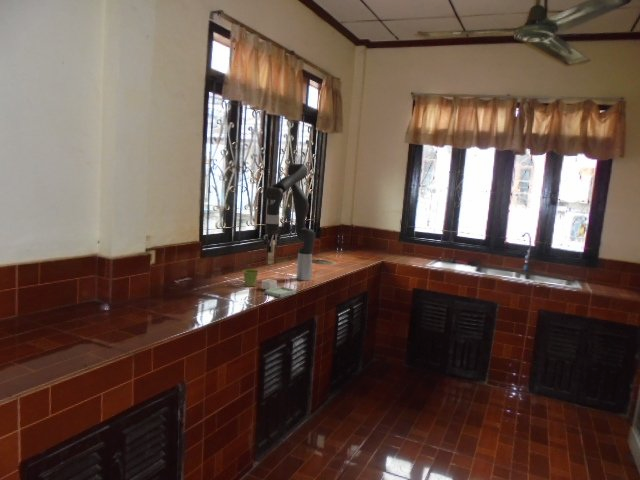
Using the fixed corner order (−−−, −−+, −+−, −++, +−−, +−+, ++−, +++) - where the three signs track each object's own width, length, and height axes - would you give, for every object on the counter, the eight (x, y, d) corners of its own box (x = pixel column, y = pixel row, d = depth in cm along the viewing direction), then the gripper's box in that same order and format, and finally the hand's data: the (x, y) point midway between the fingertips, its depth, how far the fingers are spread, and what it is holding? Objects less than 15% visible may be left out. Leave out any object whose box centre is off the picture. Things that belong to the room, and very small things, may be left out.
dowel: (270, 262, 271) (271, 239, 269) (274, 263, 269) (275, 240, 267) (266, 263, 268) (267, 239, 267) (270, 264, 267) (272, 240, 265)
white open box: (268, 287, 275) (268, 278, 274) (276, 289, 272) (276, 280, 271) (261, 288, 270) (261, 280, 269) (269, 290, 267) (270, 282, 266)
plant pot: (259, 284, 281) (260, 270, 279) (256, 287, 271) (256, 273, 270) (244, 283, 281) (245, 269, 280) (240, 286, 272) (241, 271, 271)
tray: (281, 289, 271) (281, 286, 271) (296, 293, 265) (296, 289, 265) (264, 293, 259) (264, 290, 259) (279, 297, 253) (280, 294, 252)
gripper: (275, 221, 274) (274, 250, 276) (259, 222, 262) (258, 252, 264) (285, 222, 269) (283, 251, 272) (269, 223, 258) (268, 254, 260)
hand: (271, 251), depth 268 cm, fingers closed on dowel, 3 cm apart
